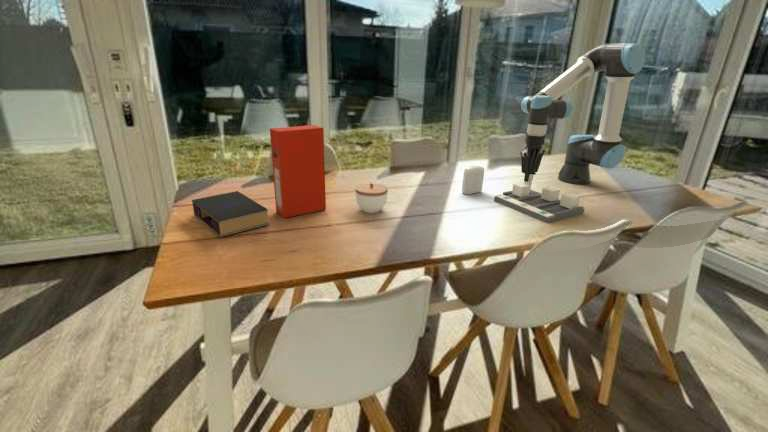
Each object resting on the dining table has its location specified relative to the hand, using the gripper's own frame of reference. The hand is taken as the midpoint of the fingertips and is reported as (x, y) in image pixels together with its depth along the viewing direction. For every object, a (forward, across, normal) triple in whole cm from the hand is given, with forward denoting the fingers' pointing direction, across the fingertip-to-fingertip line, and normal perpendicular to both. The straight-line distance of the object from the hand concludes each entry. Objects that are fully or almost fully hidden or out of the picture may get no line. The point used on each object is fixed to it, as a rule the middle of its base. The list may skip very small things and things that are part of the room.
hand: (526, 188), depth 178 cm
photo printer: (+5, +15, -18) cm, 24 cm away
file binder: (+5, +92, -30) cm, 97 cm away
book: (+5, +118, -32) cm, 123 cm away
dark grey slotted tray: (+5, +3, +10) cm, 11 cm away
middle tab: (+2, -4, +10) cm, 10 cm away
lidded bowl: (+5, +67, -18) cm, 70 cm away
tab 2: (+2, -4, +19) cm, 19 cm away
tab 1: (+2, +4, 0) cm, 4 cm away
